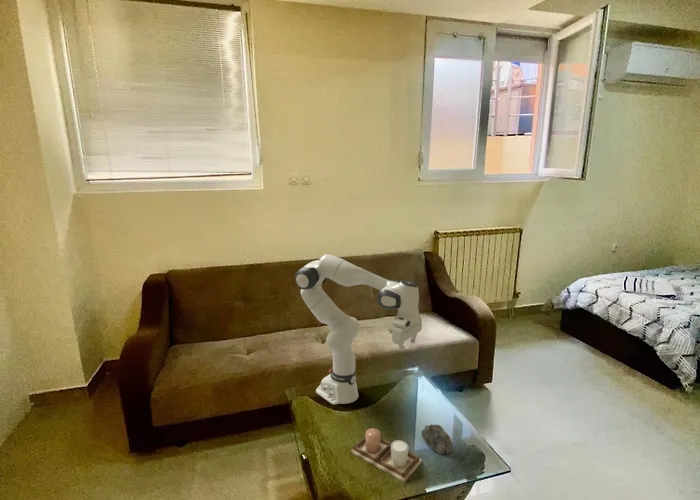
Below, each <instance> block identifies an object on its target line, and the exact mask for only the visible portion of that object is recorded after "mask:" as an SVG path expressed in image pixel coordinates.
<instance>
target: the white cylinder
mask: <svg viewBox="0 0 700 500" xmlns="http://www.w3.org/2000/svg"><path fill="white" fill-rule="evenodd" d="M390 443H391V456H392V463H393V465H395V466H396V467H403V466H405V465H406V463H407V456H408V452H409V444H408V443H407V442H406V441H405V440H400V439H397V440H396V439H395V440H394V441H392V442H390Z"/></svg>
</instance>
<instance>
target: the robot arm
mask: <svg viewBox="0 0 700 500" xmlns="http://www.w3.org/2000/svg"><path fill="white" fill-rule="evenodd" d="M327 279H329V280H331V281H332V282H335V283H336V284H338V285H341V286H344V287H348V288H349V287H353V286H357V285H359V286H360V285H366V286H369V287H371V288H374V289H375V290H377V291H378V290H379V292H378V293H377V296H376V300H377V303H378V305H379V306H380V307H381V308H382V309H385V310H397V311H398V312H397V314H396V316H395V317H394V318H393V320H391V325H392V329H391V340H392V342H393V344H395V345H398V347H399V351H400V352H403V351H404V350H405V346H404V343H405V342H406V341H408V340H409V339H410V340H409V341H410V343H411V344H414V343H416V339H417V336H418V333H420V332H421V331H422V328H423V322H422V320H423V319H422V316H421V313H420V312H419V303H420V301H419V300H420V295H419V292H420V290H419V286H418V285H417V283H416V282H414V281H411V280H407V279H405V280H401V281H400V280H398V279H389V278H386V277H384V276H381V275H379V274H376V273H374V272H372V271H370V270H366V269H364V268H363V267H359V266H357V265H355V264H353V263H352V262H349V261H347V260H345V259H343V258H341V257H339V256H336V255H333V254H329V253H328V254H327V253H326V254H324V255H323V256H321V257H320V258H318V259H314V260H313V261H310V262H308V263H307V264H305V265H304V266H303V267H301V268H299V270H297V272H296V273H295V275H294V283H295V285H296V286H297V288H300V296H301V298H302V300H303V302H304V303H305V305H306V306H307V307H308V309H309V311H310V312H311V313H312V314H313V315H314V317H315V318H316V320H317V321H319V323H320V324H321V323H322V324H325V325H327V326H328V327H330V328H331V330H330V331H329V332H328V333H327V336H326V339H325V344H326V346H327V348H328V349H329V350H330V352H331V354H332V355H331V357H332V367H331V368H330V369H329V370H328V373H329V374H327V376H324V377H323V378H322V380H321V381H320V384H319V386H318V387H317V388H316V389H315V394H317V395H319V396H320V397H322V399H324V400H326V401H327V402H329V404H331V405H339V404H341V405H342V404H343V405H345V404H351V403H354V402H356V401H357V400H358V398H359V392H358V386H357V369H356V355H355V353H354V352H353V349H352V345H353V341H354V340H355V338H356V337H358V335H359V332H360V329H361V324H360V321H359V319H357V318H355V317H354V316H350V315H348V314H346V313H345V311H343V310H341V309H340V308H339V307H338V306H337V305H336V304H335V303H334V301H333V300H332V299H331V298H330V296H329V295H328V294H327V293H326V292H325V291H324V289H323V287H322V285H323V284H324V283H326V281H327Z"/></svg>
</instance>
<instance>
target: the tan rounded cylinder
mask: <svg viewBox="0 0 700 500" xmlns="http://www.w3.org/2000/svg"><path fill="white" fill-rule="evenodd" d="M365 436H366V451H367V452H369V453H372V454H375V453H378V452H379V451H380V438H381V430H379V429H378V428H373V427H372V428H368V429H367V430H365Z"/></svg>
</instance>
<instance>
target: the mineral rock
mask: <svg viewBox="0 0 700 500" xmlns="http://www.w3.org/2000/svg"><path fill="white" fill-rule="evenodd" d="M421 436H422V439H423V440H424V441H425V443H426V445H428V446H429V447H430V448H431V449H432V450H434V451H436V453H438V454H439V455H442V456H445V455H447V454H448V455H449V454H450V453H452V451H453V441H452V439H451V436H450V435H449V434H448V433H447V432H446V430H445V429H444V428H443V426H441V425H440V424H430V425H425V426H424V429H422V430H421Z"/></svg>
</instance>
